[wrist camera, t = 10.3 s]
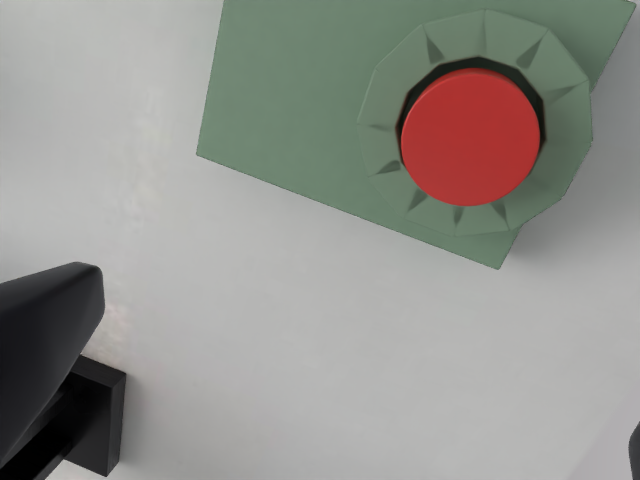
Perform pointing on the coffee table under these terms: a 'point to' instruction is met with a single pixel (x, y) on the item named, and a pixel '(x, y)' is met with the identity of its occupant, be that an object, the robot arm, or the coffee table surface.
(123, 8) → the coffee table surface
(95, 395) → the bracket
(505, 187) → the button
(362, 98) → the control box
